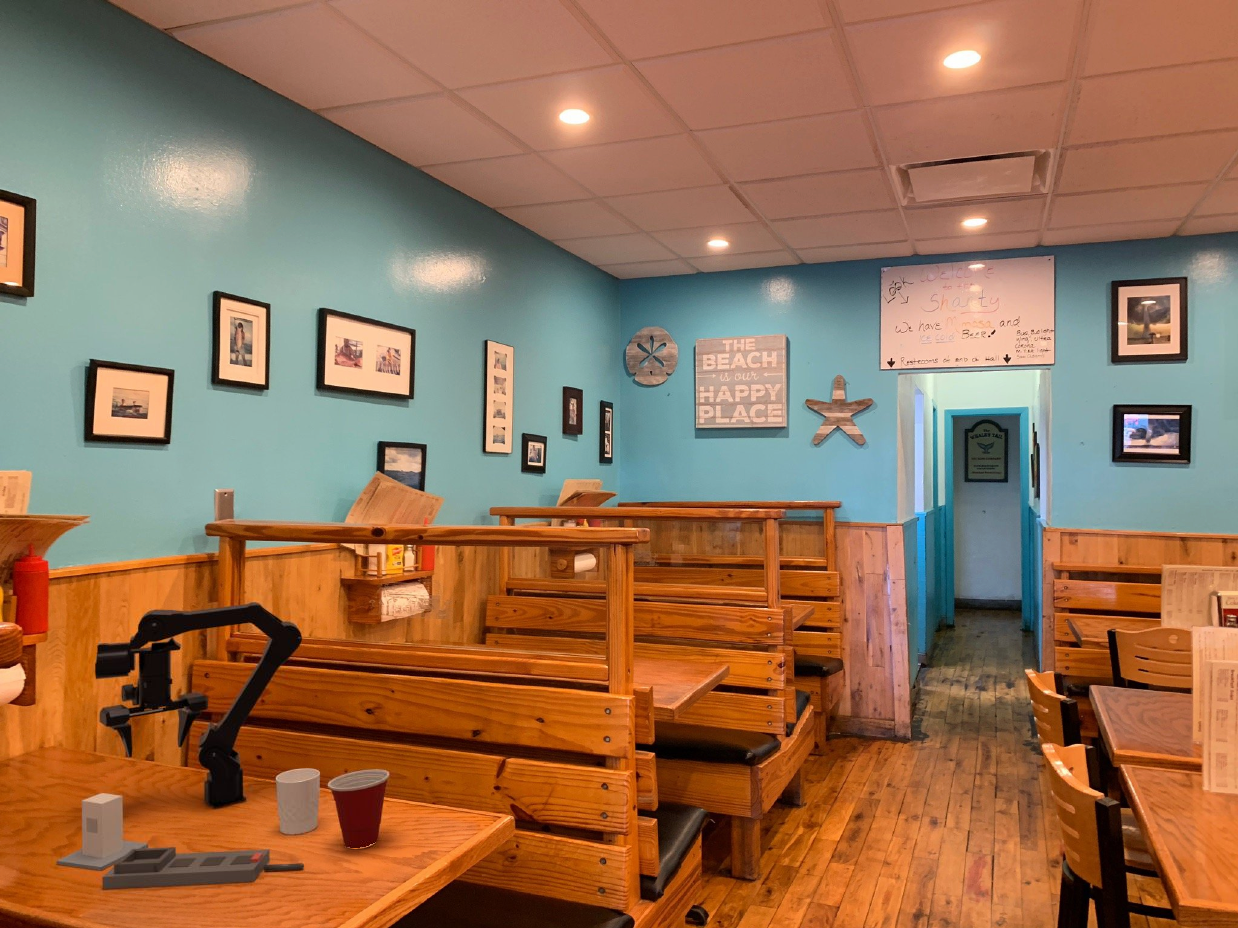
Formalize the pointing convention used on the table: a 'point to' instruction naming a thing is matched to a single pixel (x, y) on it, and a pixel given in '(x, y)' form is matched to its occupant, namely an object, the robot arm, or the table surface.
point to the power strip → (188, 868)
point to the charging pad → (98, 863)
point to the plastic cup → (359, 805)
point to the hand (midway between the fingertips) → (155, 751)
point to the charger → (102, 825)
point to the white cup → (298, 800)
